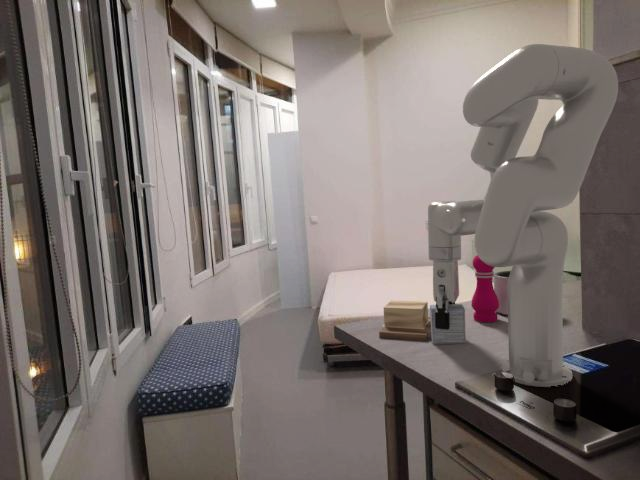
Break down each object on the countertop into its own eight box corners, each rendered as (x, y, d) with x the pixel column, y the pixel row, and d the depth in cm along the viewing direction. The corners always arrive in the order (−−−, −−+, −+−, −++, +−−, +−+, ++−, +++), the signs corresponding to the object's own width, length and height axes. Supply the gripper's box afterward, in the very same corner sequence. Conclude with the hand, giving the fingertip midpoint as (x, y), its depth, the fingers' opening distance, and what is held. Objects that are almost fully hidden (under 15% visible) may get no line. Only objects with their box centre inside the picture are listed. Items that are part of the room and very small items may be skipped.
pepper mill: (492, 324, 126) (491, 250, 124) (467, 320, 131) (465, 249, 129) (503, 318, 132) (502, 246, 130) (478, 315, 136) (476, 246, 134)
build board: (426, 340, 116) (426, 334, 116) (377, 337, 121) (377, 331, 121) (437, 323, 131) (437, 317, 130) (393, 320, 136) (393, 315, 135)
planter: (488, 307, 144) (487, 271, 143) (530, 306, 143) (530, 269, 142) (502, 318, 131) (501, 279, 130) (549, 316, 131) (548, 276, 130)
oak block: (422, 328, 121) (421, 309, 121) (384, 325, 125) (383, 307, 125) (428, 319, 129) (427, 301, 128) (392, 318, 133) (391, 300, 132)
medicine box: (464, 338, 116) (463, 303, 116) (466, 344, 112) (465, 308, 111) (431, 338, 118) (429, 304, 117) (432, 344, 114) (430, 308, 113)
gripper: (456, 259, 104) (456, 335, 106) (465, 248, 119) (465, 314, 122) (421, 258, 107) (423, 332, 109) (435, 247, 122) (436, 312, 125)
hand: (445, 322), depth 115 cm, fingers open, 9 cm apart
